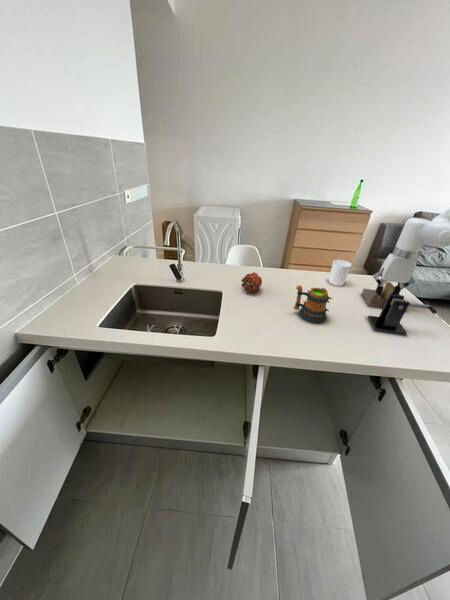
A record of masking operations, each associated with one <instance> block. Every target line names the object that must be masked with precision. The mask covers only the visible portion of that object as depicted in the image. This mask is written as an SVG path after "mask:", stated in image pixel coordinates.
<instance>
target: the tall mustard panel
mask: <svg viewBox="0 0 450 600" xmlns="http://www.w3.org/2000/svg"><path fill="white" fill-rule="evenodd" d="M383 287H384V288H383V291H382V295H383V296H384V297H385V299H387V298H388V296H389V294H392V292H393V290H394V288H395V285H394V284H393V283H392V282H391V281H387V282H386V283H385V284H384V286H383Z"/></svg>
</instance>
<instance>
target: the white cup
mask: <svg viewBox="0 0 450 600" xmlns="http://www.w3.org/2000/svg"><path fill="white" fill-rule="evenodd" d="M352 266H353V265H352V263H351V262H349V261H347V260H344V259H335V260H332V264H331V269H330V272H329V279H328V283H329V284H331V285H334V286H336V287H337V286H338V287H342V286H344V284H345V282H346V280H347V278H348V275H349V274H350V272H351V268H352Z"/></svg>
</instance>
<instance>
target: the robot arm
mask: <svg viewBox="0 0 450 600" xmlns="http://www.w3.org/2000/svg"><path fill="white" fill-rule="evenodd" d="M424 243H426V244H428V245H433V246H435V247H443V248H445V247H448V246H450V207H448V208H447V209H445V210H444V211H442V212H441V213H440V214H439V215H437V216H435V217H434V218H433V219H432V220H430V219H426V218H421V217H409V218H408V219H407V220H406V221H405V224H404V225H403V228H402V230H401V233H400V235H399V238H398V239H397V242H396V244H395V246H394V248H393V251H392V253H389V254H388V255H387V257H386V258H385V259H384V261H383V263H382V264H381V267H380V269H379V271H377V272H376V273H373V275H372V278H373V279H374V281H375V282H376V283H377V286H376V288H375V290H376V293H377V295H378V296H380V295H381V293H382V291H383V289H384V287H385V285H386V282H391V283H396V285H394V287H395V288H394V290H393V292H392V294H394V295H399V294H400V293H401V291H402V290H404V288H406V287H408V286H409V285H412V284H414V283H415V282H416V281H415V279H414V276H413V275H414V273H415V269H416V266H417V262H418V259H417V258H418V256H422V254H423V251H421V249H422V247H423V244H424ZM379 277H380V278H379Z"/></svg>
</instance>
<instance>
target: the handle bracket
mask: <svg viewBox="0 0 450 600" xmlns="http://www.w3.org/2000/svg"><path fill="white" fill-rule="evenodd" d="M393 298H399V299H402V300H403V299H404V300H405V296H404V295H401V294H400V295H394V294H389V296H388V298H387V300H386V303H385V305H384V307H383V308H381V311H380V313H379V315H378V316H376V315H368V316H367V320H368V322H369V324H370V326H371V327H372V329H373V331H374V332H378V333H385V334H392V335H399V336H406V335H407V331H406V330H405V328H404V326H402V324H401V321H402V319H403V317H404V315H405V314H406V312H407V310H408V308H409V304H410V303H411V302H410V301H406V300H405V301H400V300H394V301H393V303H392V305H391V304H390V303H391V301H392V299H393Z"/></svg>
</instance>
